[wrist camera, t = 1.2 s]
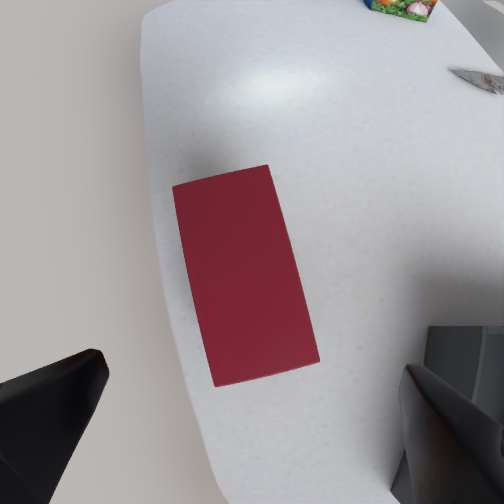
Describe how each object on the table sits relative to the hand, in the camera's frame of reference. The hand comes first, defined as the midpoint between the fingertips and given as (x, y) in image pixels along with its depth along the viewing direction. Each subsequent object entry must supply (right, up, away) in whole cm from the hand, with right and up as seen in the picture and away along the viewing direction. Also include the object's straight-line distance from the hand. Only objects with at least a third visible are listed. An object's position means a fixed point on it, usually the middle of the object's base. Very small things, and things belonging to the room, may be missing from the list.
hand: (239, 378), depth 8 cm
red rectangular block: (0, +2, +10) cm, 10 cm away
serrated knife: (+47, +33, +26) cm, 63 cm away
